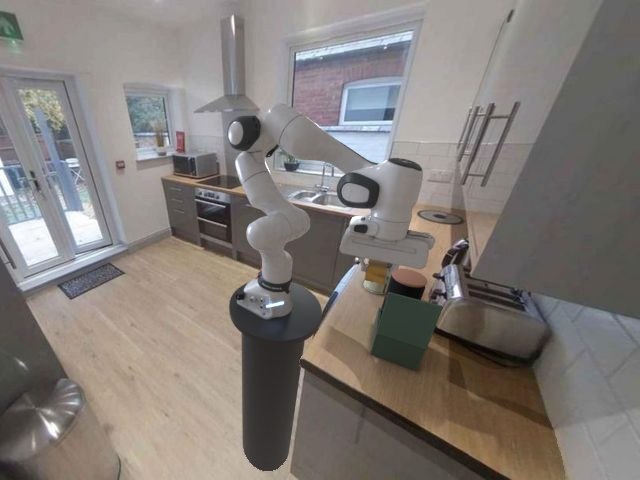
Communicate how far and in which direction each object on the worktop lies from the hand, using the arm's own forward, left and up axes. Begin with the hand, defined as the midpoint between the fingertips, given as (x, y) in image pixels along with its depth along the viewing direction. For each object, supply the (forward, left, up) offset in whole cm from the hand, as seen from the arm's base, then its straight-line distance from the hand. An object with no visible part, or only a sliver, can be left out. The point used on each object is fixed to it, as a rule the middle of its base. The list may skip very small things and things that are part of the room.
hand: (375, 273), depth 70 cm
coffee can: (+4, +41, -30) cm, 51 cm away
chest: (+11, +8, -30) cm, 33 cm away
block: (0, 0, -2) cm, 2 cm away
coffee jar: (+12, +25, -30) cm, 41 cm away
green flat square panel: (+11, +2, -14) cm, 18 cm away
